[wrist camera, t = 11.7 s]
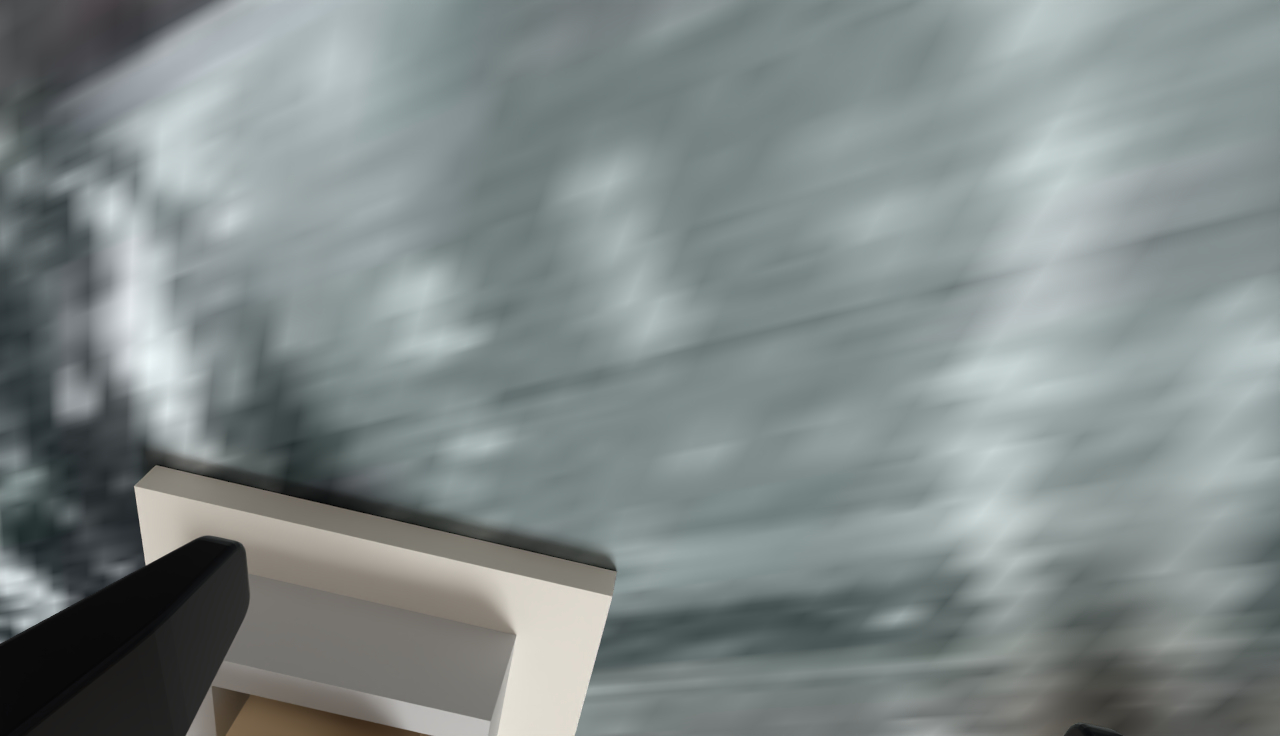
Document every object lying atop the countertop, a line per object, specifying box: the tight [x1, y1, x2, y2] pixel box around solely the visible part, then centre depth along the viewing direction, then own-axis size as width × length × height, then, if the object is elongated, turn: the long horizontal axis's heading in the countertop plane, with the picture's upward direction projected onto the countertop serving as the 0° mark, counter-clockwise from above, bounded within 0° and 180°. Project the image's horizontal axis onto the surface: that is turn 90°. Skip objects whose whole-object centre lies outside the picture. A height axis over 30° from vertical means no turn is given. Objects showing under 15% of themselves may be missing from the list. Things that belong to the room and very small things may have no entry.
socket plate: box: [134, 465, 617, 736], centre depth 26 cm, size 14×14×4 cm
